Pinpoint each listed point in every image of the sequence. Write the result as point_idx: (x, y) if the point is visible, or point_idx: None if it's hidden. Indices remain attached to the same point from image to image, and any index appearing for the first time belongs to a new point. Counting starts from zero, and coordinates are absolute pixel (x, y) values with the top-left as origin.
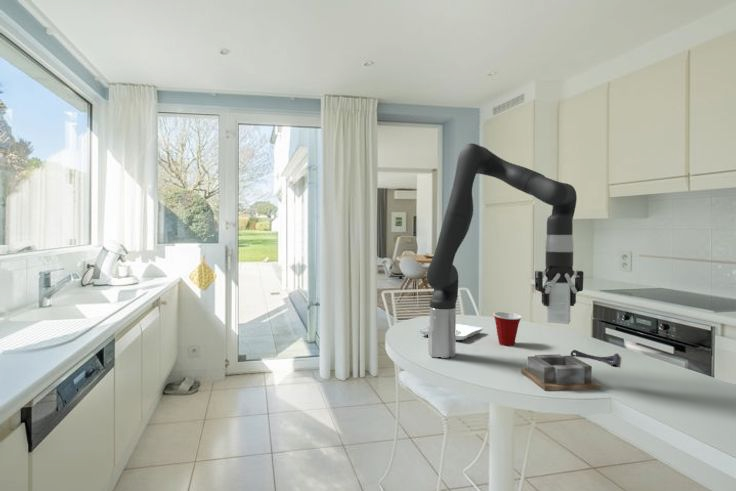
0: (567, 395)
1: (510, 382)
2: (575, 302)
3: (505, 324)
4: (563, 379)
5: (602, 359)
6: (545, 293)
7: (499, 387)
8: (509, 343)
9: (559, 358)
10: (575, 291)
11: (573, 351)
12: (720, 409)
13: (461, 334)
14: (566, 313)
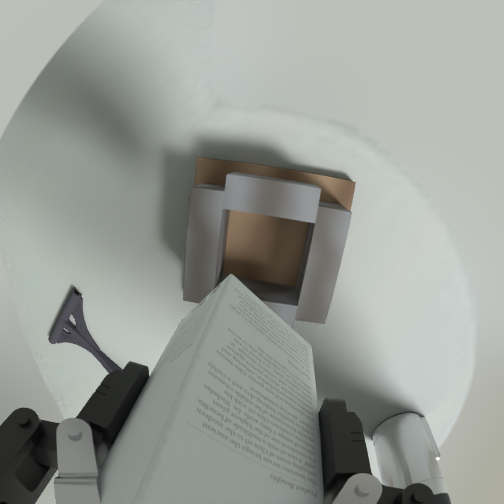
0: (317, 136)
1: (395, 256)
2: (109, 374)
3: None
4: (297, 182)
5: (82, 332)
6: (360, 479)
7: (437, 232)
8: None
9: None
10: (71, 428)
11: None
12: (71, 44)
13: None
14: (229, 309)
